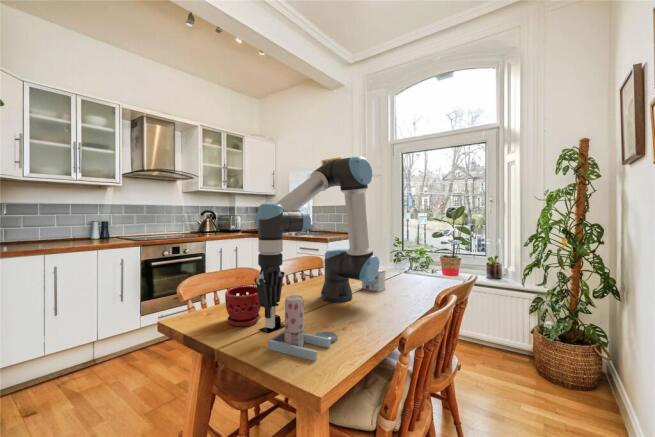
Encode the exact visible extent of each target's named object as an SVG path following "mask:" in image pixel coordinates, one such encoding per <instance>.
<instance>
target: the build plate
mask: <svg viewBox="0 0 655 437" xmlns="http://www.w3.org/2000/svg"><path fill="white" fill-rule="evenodd" d="M281 321H282V319H281V316H280V315H278V314H276V313H275V327H274V328H267V327H265V326H264V327H260V328H257V330H258V331H260V332H262V333H264V334H267V335H269V334H272V333H274V332H276V331H279V330H282V329H285V323H282V322H281Z"/></svg>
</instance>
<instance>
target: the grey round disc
mask: <svg viewBox="0 0 655 437" xmlns="http://www.w3.org/2000/svg"><path fill="white" fill-rule="evenodd" d="M313 335H315V336H320V337H325V338H329V339H330V344H333V343H336V342H337V341H338V337H339V336H338V335H337V333H334V332H332V331H318V332H316V333H314V334H313Z"/></svg>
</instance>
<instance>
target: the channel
mask: <svg viewBox="0 0 655 437" xmlns="http://www.w3.org/2000/svg"><path fill="white" fill-rule="evenodd" d="M267 343H268V344H267V345H268V346H267V348H268V350H271V351H274V352H278V353H283V354H286V355H290V356H294V357H298V358H302V359H306V360H309V361H314V362H316V361H317V360H318V351H317V350H315V349H311V348H306V347H304V346H303V347H299V346H294V345H290V344H286V343H285V329H284V330H283V331H281V332H280V333H278V334H277V335H275V336H273V337H272V338H270V339H268V341H267ZM303 343H306V344H310V345H315V346H320V347H323V348H327V349H329V348H330V349H331V343H330V339H329V338H325V337H320V336H315V335H314V334H310V333H305V332H303Z"/></svg>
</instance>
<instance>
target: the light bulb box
mask: <svg viewBox="0 0 655 437" xmlns="http://www.w3.org/2000/svg"><path fill="white" fill-rule="evenodd" d="M361 289H364V290H370V291H373V292H377V293H378V292H383V291H384V290H386V269H383V268H379V270H378V273H377V275H376V277H375V278H374V279H373V280H372V281H370V282H366V281H361Z"/></svg>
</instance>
